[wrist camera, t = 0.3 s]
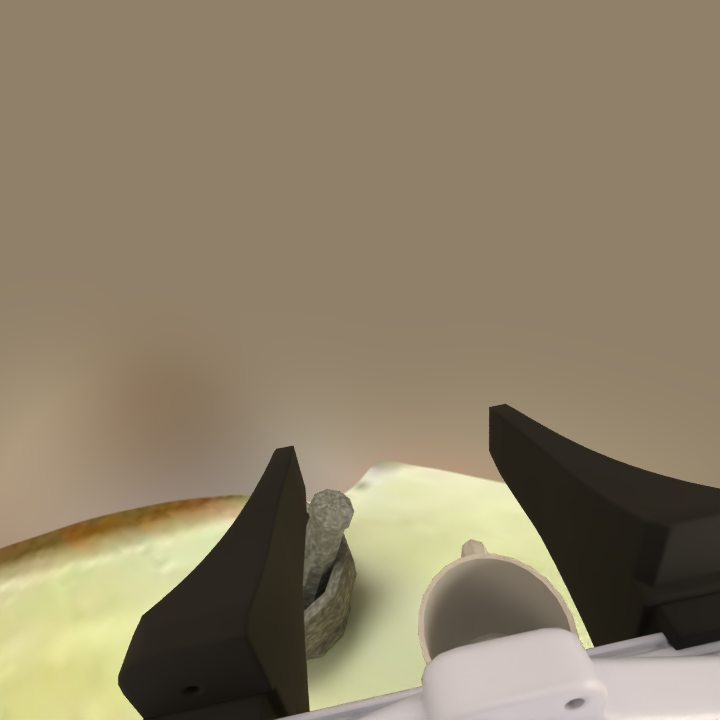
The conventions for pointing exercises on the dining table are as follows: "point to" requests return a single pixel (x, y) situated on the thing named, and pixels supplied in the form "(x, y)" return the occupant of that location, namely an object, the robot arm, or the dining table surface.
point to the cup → (486, 602)
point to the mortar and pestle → (327, 571)
